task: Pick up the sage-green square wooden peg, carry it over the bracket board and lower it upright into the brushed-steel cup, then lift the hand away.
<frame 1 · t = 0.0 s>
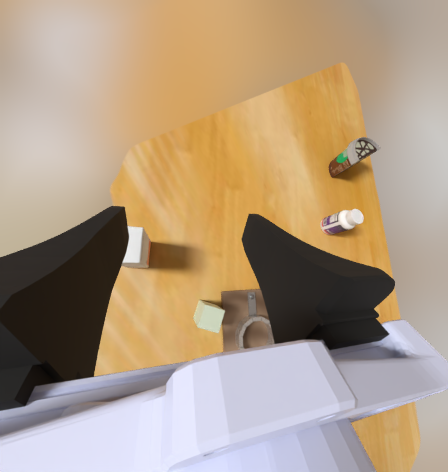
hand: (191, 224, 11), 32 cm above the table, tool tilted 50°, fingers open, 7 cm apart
pill bottle: (326, 226, 55), on the table
food container: (335, 165, 62), on the table
sage peg: (204, 311, 41), on the table
skincare box: (140, 254, 40), on the table
cup bracket: (251, 334, 42), on the table
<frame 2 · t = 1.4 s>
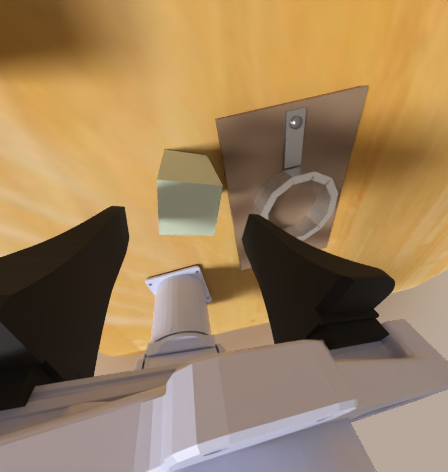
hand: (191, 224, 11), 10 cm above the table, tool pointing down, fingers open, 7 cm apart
sage peg: (185, 173, 19), on the table
cup bracket: (284, 199, 23), on the table
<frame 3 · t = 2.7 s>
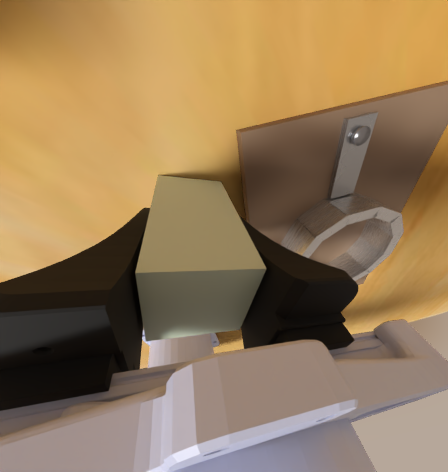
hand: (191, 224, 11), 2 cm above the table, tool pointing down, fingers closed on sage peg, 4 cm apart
sage peg: (189, 206, 13), on the table, touching gripper
cup bracket: (320, 232, 17), on the table
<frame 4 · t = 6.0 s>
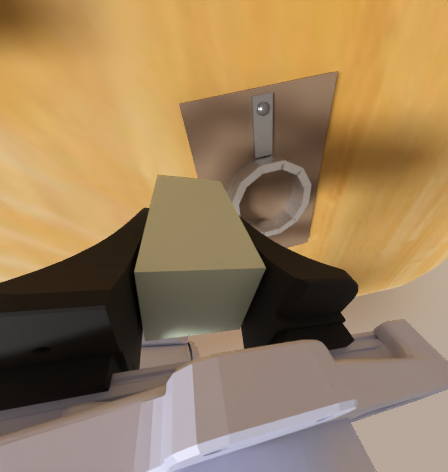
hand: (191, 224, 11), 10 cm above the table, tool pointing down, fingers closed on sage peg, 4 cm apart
sage peg: (188, 205, 13), point 8 cm above the table, touching gripper
cup bracket: (260, 191, 22), on the table
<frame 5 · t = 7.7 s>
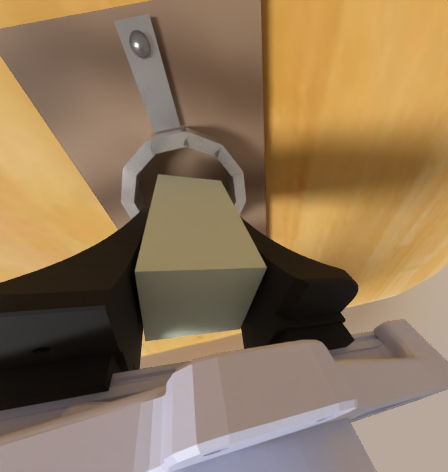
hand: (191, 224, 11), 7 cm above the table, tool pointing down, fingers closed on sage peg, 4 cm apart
sage peg: (188, 205, 13), point 4 cm above the table, touching gripper
cup bracket: (186, 183, 16), on the table
when the fingers open (4 cm above the table, at t = 9.1 s): sage peg stays where it is, resting on cup bracket.
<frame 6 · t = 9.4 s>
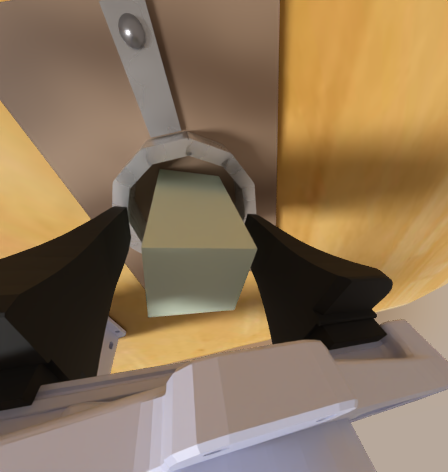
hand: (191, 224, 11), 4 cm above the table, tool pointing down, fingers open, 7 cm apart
sage peg: (188, 199, 14), point 1 cm above the table, touching cup bracket
cup bracket: (187, 194, 14), on the table
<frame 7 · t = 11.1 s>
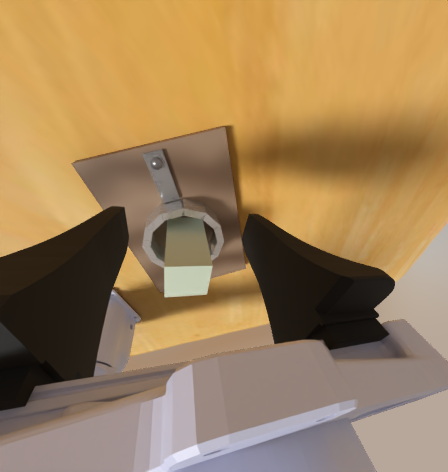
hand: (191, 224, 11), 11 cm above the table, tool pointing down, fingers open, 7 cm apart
sage peg: (184, 231, 23), point 1 cm above the table, touching cup bracket
cup bracket: (184, 227, 23), on the table
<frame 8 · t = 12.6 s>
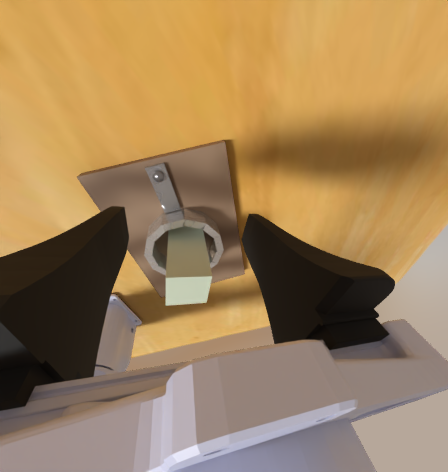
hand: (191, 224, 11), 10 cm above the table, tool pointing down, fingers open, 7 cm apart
sage peg: (185, 239, 23), point 1 cm above the table, touching cup bracket
cup bracket: (184, 234, 24), on the table
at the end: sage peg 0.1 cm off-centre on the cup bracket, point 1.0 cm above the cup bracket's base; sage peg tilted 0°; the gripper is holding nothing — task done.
